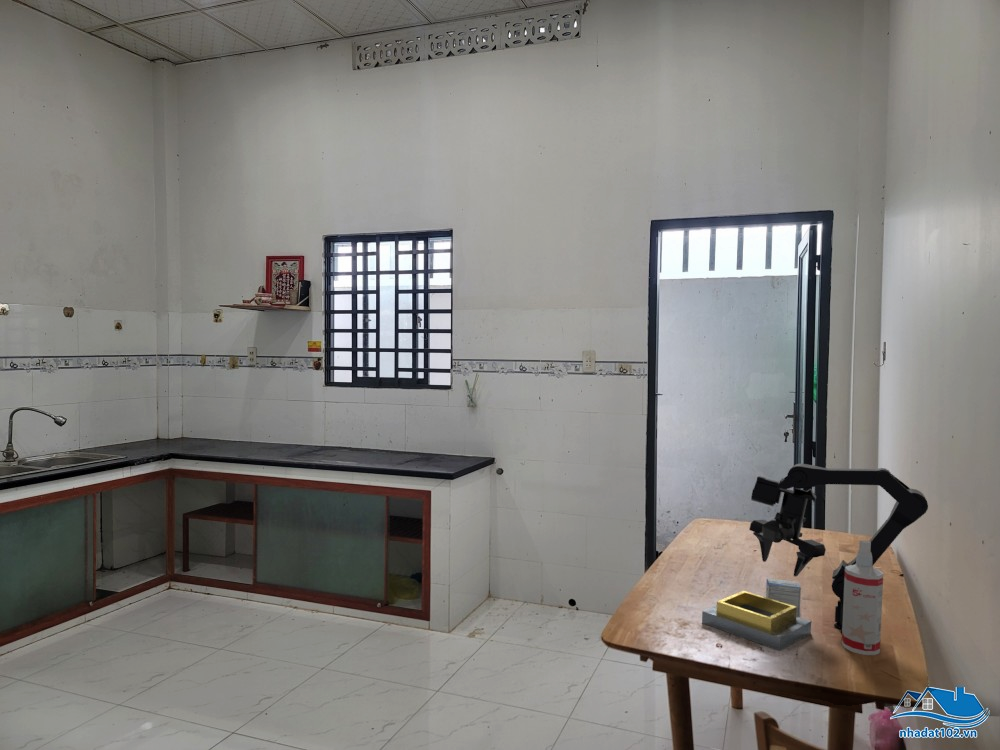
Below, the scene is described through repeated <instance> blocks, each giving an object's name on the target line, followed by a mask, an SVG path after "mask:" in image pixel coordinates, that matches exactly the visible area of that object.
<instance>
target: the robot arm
mask: <svg viewBox="0 0 1000 750" xmlns="http://www.w3.org/2000/svg"><path fill="white" fill-rule="evenodd" d="M823 485H824V486H825V485H826V486H827V485H848V486H849V485H850V486H851V485H853V486H880V487H881V489H883V490H884V491H885V492H886V493H887V494H889V495H890V496H891V497H892V499H894V500H895V503H894V504H893V507H892V509H891V511H890V514H889V516H888V518H887V519H885V521H884V522H883V524H882V525H881V526H880V527H879V529H877V531H876V532H875V533H874V535H873V536H872V537H871V538H870V539H869V541H870V542H871V550H870V552H871V554H872V566H873V567H874V565H875V564H876V563H877V562H878V560H879V559H880V558H881V557H882V555H883V554H884V553H885V552H886V551H887V550H888V548H889V547H890V546H891V545H892V543H893V542H894V541H895V540H896V539H897V537H898V536H899V535H900V534H901V533H902V531H903V530H904V529H906V528H907V527H909V526H910V525H912V524H914V523H915V522H916V521H918V520H919V519H920V518H922V516H924V515H926V513H927V511H928V509H929V504H928V500H927V498H926V496H925V494H924V493H923V492H922V491H920V490H918V489H914V488H910V487H909V486H908V485H906V483H904V482H903V481H901V479H899V478H898V477H896V476H895V475H893V473H891V471H890V470H889V469H887V468H883V467H879V468H827V467H822V466H817V465H813V464H807V463H796V464H794V465H793V466H792V467H791V468H790V469H789V470H788V472H787V475H786V476H785V477H783V478H781V479H780V480H779V481H778V480H773V479H769V478H766V477H764V476H761V475H758V476H757V477H756V481H755V483H754V487H753V488H752V492H751V499H750V500H751V501H752V502H756V503H759V504H763V505H767V506H770V507H774V506H775V505H776V504H778V505H779V504H780V502H781V505H780V510H779V511H777V512H776V514H775V516H774V519H771V520H769V521H768V520H765V519H753V520H752V521H751V523H750V525H749V531H751V532H752V534H753V536H755V537H756V538H757V540H758V542H759V546H760V552H761V558H762V562H763V563H764V562H767V561H768V558H769V556H770V552H771V548H772V545H773V543H776V544H779V543H781V542H782V541H786V542H787V543H790V544H792V545H795V546H797V547H798V548H797V549H798V550H799V551H796V556H797V558H796V563H795V566H794V570H793V577H798V576H799V575H800V574H801V572H802V571H803V569H805V567H806V566H807V565H808V564H809V563H810V562H812V561H811V560H813V559H814V558H819V557H825V554H826V551H827V550H826V546H825V544H824V543H821V542H819V541H816V540H814V539H801V538H803V534H804V533H802V532H801V531H802V525H803V523H805V522H806V521H807V518H806V517H804V516H805V513H806V507H807V504H808V500H811V501H816V499H817V495H816V494H815V493H814V492H813V489H812V488H814V487H820V486H823ZM792 488H794V490H792ZM804 489H808V490H804ZM782 493H783V496H782ZM781 497H782V500H781ZM856 557H857V555H856V556H855V558H854V559H853V560H850V561H849V562H846V561H845V560H844V559H843V560H841V562H840V564H839V566H838V567H837V568H835V569H833V571H832V575H831V578H832V582H831V583H832V584H831V589H832V592H833V593H834V595H836V597H838V598H839V600H837V605H835V607H834V608H835V611H834V622H835V623H833V627H834V628H838V629H841V630H842V624H843V601H844V578H845V567H846V566H849V565H855V564H856Z"/></svg>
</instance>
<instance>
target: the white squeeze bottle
mask: <svg viewBox="0 0 1000 750" xmlns="http://www.w3.org/2000/svg"><path fill="white" fill-rule="evenodd" d="M858 546H859V547H858V551H857V553H856V556H857V557H856V556H855V558H856V564H855V565H849V566H846V567H845V578H844V601H843V624H842V629H841V630H842V631H841V632H842V633H841V645H842V647H843V648H844V649H845V650H848V651H850V652H852V653H855V654H860V655H863V656H877V655H878V654H880V653H881V635H882V633H881V632H882V613H883V609H882V608H883V592H884V591H883V590H884V572H882V571H881V570H880V569H878V568H875V567H874V565H873V566H872V554H871V552H870V550H871V542H870V540H859V543H858Z"/></svg>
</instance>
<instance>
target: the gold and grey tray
mask: <svg viewBox="0 0 1000 750" xmlns="http://www.w3.org/2000/svg"><path fill="white" fill-rule="evenodd" d="M796 612H797V607H796V606H793V605H789V604H786V603H783V602H779V601H776V600H773V599H769V598H766V596H762V595H760V594H757V593H753V592H750V591H746V590H742V591H739V592H736V593H735V594H731V595H729V596H727V597H725V598H722V599H719V600H718V601H716V605H714V606H711V607H709V608H707V609H704V610H702V611H701V613H702V615H701V624H703V625H707V626H709V627H711V628H715V629H717V630H720V631H724V632H726V633H729V634H731V635H734V636H737V637H740V638H742V639H746V640H748V641H751V642H754V643H757V644H759V645H762V646H765V647H768V648H770V649H774V650H776V651H779V652H781V651H782V650H784V649H786V648H787V647H789V646H791V645H792V644H795V643H796V642H798V641H800V640H801V639H803V638H805V637H807V636H808V635H811V633H812V621H811V620H809V619H806V618H802V617H800V618H799V617H796Z"/></svg>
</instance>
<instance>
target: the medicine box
mask: <svg viewBox="0 0 1000 750" xmlns="http://www.w3.org/2000/svg"><path fill="white" fill-rule="evenodd" d="M765 588H766V589H765V590H766V591H765V594H766V595H765V597H766V598H769V599H773V600H776V601H779V602H783V603H786V604H789V605H793V606H796V607H797V612H796V617H799V618H801V617H800V616H801V598H802V597H801V592H802V587H801V585H800V583H799V582H798V581H793V580H786V579H785V580H784V579H776V578H775V579H774V578H766V585H765Z"/></svg>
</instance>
